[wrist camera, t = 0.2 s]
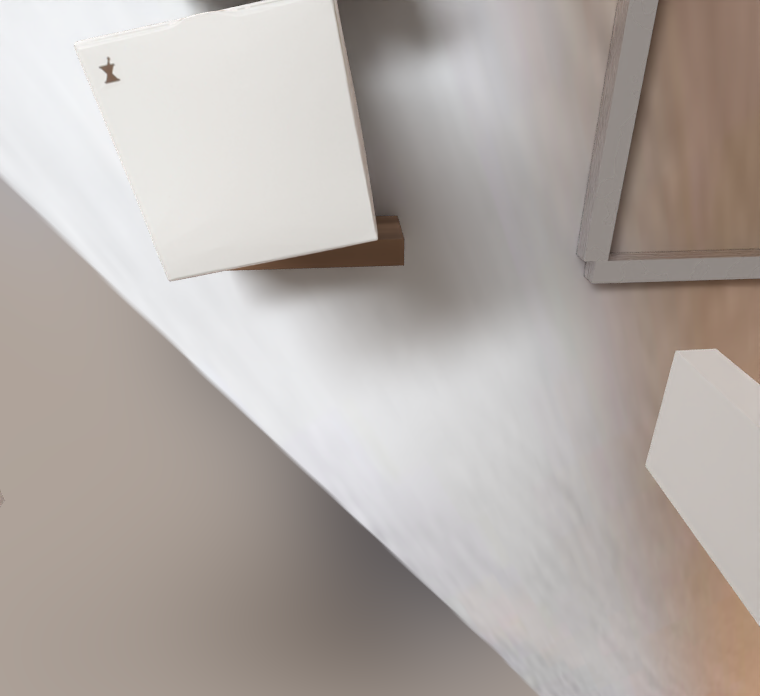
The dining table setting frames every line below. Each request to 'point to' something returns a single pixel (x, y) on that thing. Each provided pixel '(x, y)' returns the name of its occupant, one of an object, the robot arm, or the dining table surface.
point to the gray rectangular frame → (611, 164)
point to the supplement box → (237, 133)
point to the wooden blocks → (351, 252)
